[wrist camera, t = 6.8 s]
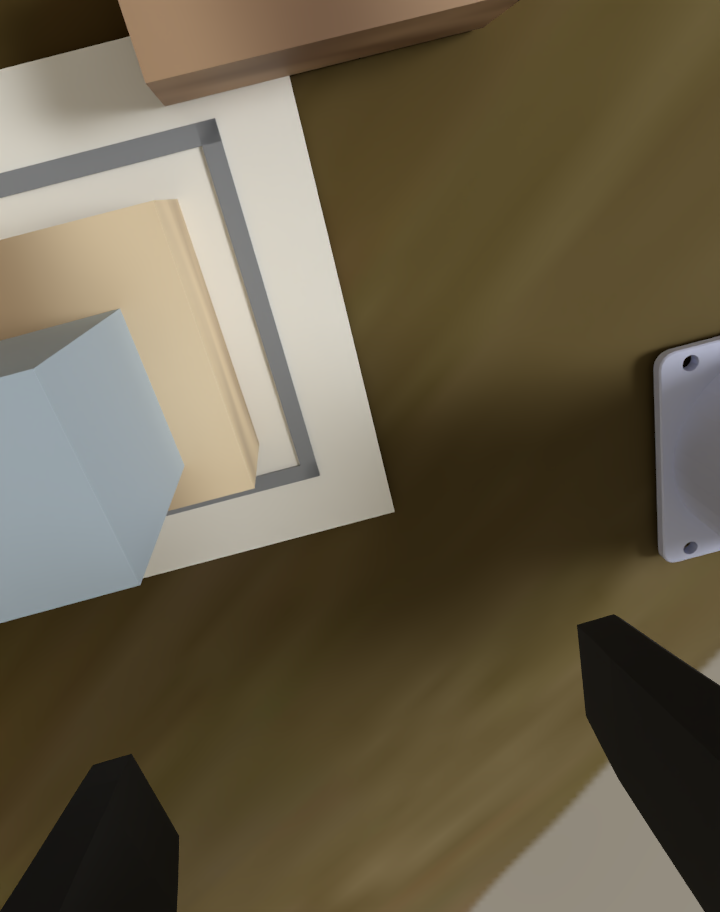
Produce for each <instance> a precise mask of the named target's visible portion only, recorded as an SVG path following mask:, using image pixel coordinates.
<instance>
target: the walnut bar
mask: <svg viewBox="0 0 720 912" xmlns="http://www.w3.org/2000/svg"><path fill="white" fill-rule="evenodd" d="M518 1H519V0H118V2H119V5H120V8H121V11H122V14H123V17H124V20H125V23H126V26H127V29H128V32H129V35H130V38H131V41H132V44H133V47H134V50H135V53H136V56H137V59H138V62H139V65H140V68H141V71H142V74H143V77H144V80H145V83H146V85H147V86H148V87H149V88H150V89H151V90H152V92H153V93H154V94H155V95H156V96H157V98H158V99H159V100H160V101H161V102H162V104H163V105H164V106H168V105H172V104H177V103H181V102H185V101H189V100H193V99H197V98H201V97H205V96H209V95H213V94H217V93H221V92H225V91H229V90H233V89H237V88H241V87H245V86H249V85H253V84H257V83H261V82H265V81H269V80H273V79H277V78H281V77H285V76H290V75H294V74H298V73H302V72H306V71H310V70H314V69H318V68H322V67H326V66H330V65H334V64H338V63H342V62H346V61H350V60H354V59H358V58H362V57H366V56H370V55H374V54H378V53H382V52H386V51H390V50H394V49H398V48H403V47H407V46H411V45H415V44H419V43H423V42H427V41H431V40H435V39H439V38H443V37H447V36H451V35H455V34H459V33H463V32H467V31H471V30H475V29H479V28H483V27H484V26H486V25H487V24H488V23H490V22H491V21H492V20H494V19H495V18H496V17H498V16H499V15H501V14H502V13H503V12H505V11H506V10H507V9H509V8H510V7H511V6H513V5H514V4H515V3H517V2H518Z"/></svg>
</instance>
